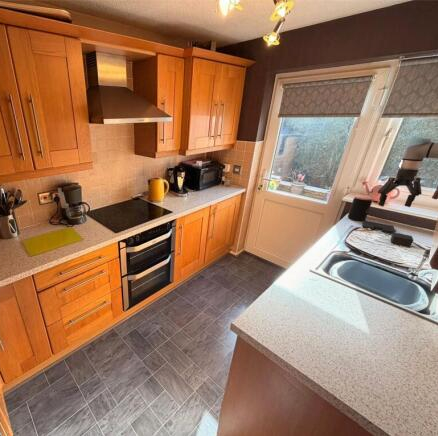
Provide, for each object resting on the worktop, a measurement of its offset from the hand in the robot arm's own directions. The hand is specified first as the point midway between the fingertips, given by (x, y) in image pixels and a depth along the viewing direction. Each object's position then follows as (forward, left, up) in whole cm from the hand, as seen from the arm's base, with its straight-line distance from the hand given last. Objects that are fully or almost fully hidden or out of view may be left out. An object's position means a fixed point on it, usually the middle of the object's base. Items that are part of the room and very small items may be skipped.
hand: (393, 206), depth 131 cm
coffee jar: (+47, +12, -25) cm, 54 cm away
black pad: (+13, -10, -25) cm, 30 cm away
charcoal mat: (+34, 0, -25) cm, 42 cm away
